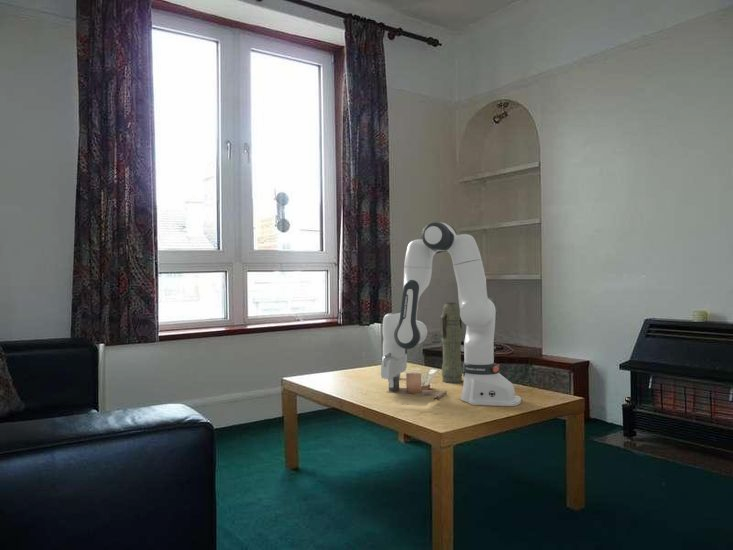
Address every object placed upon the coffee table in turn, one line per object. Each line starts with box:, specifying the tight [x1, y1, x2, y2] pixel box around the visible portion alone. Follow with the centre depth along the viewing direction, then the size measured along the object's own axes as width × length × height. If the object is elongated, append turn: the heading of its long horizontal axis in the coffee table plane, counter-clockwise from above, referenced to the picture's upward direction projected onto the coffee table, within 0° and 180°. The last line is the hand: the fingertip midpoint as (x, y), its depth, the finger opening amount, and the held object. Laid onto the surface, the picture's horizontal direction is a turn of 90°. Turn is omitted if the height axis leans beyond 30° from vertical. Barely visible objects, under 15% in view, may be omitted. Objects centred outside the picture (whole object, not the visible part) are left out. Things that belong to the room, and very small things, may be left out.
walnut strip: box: [386, 377, 448, 401], centre depth 224 cm, size 22×10×6 cm, turn 66°
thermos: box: [439, 302, 463, 384], centre depth 251 cm, size 9×12×35 cm
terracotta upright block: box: [405, 372, 423, 393], centre depth 225 cm, size 6×6×7 cm
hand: (394, 385), depth 228 cm, fingers closed on walnut strip, 4 cm apart
